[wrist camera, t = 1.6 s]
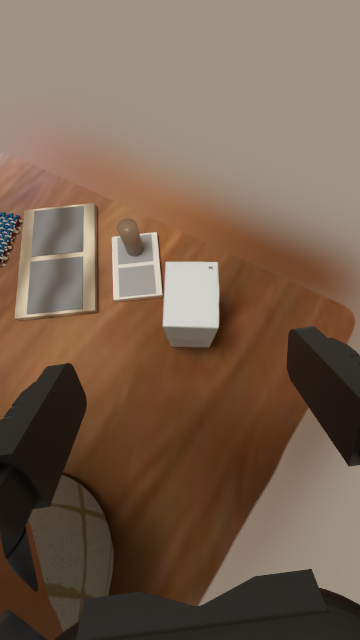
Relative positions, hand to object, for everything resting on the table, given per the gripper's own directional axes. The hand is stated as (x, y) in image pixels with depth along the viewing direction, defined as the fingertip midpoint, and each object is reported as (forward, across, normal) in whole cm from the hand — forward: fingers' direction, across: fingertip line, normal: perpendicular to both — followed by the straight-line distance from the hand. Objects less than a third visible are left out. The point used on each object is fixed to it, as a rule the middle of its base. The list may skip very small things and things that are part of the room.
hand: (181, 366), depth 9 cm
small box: (+28, -1, +13) cm, 31 cm away
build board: (+38, +20, +2) cm, 43 cm away
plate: (+36, +6, +5) cm, 36 cm away
